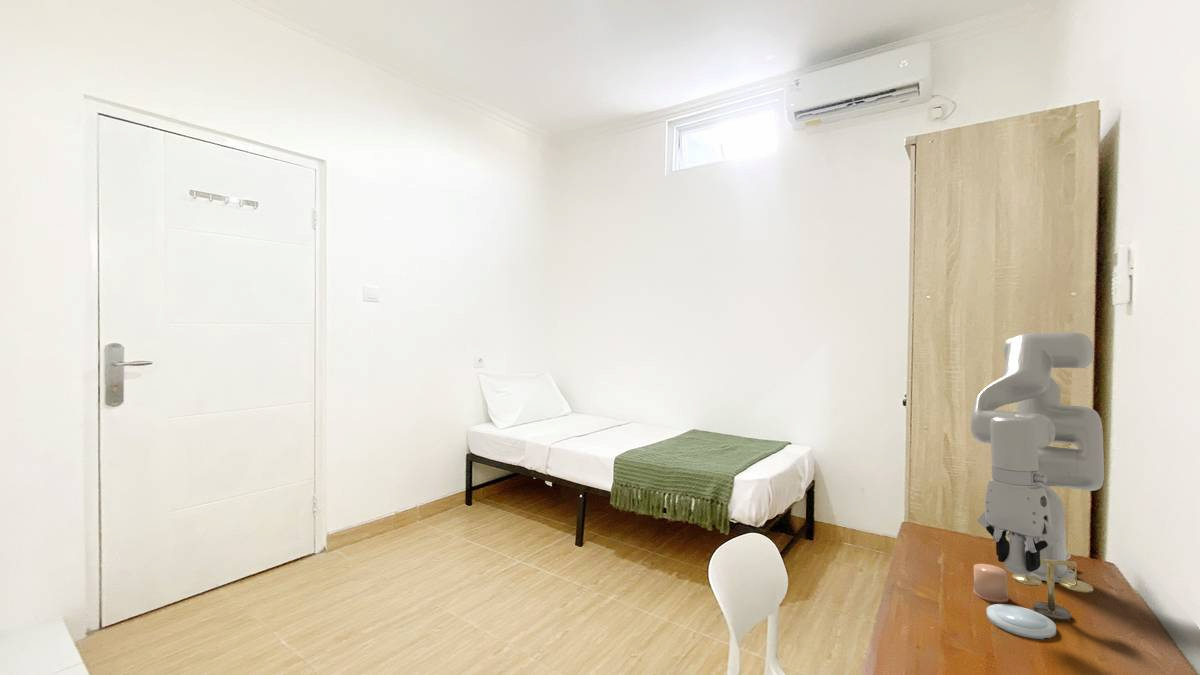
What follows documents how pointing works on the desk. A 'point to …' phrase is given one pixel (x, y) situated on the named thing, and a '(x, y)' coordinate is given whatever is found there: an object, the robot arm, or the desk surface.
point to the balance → (1053, 589)
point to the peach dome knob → (990, 583)
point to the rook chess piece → (1016, 554)
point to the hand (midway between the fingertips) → (1018, 564)
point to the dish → (1021, 621)
